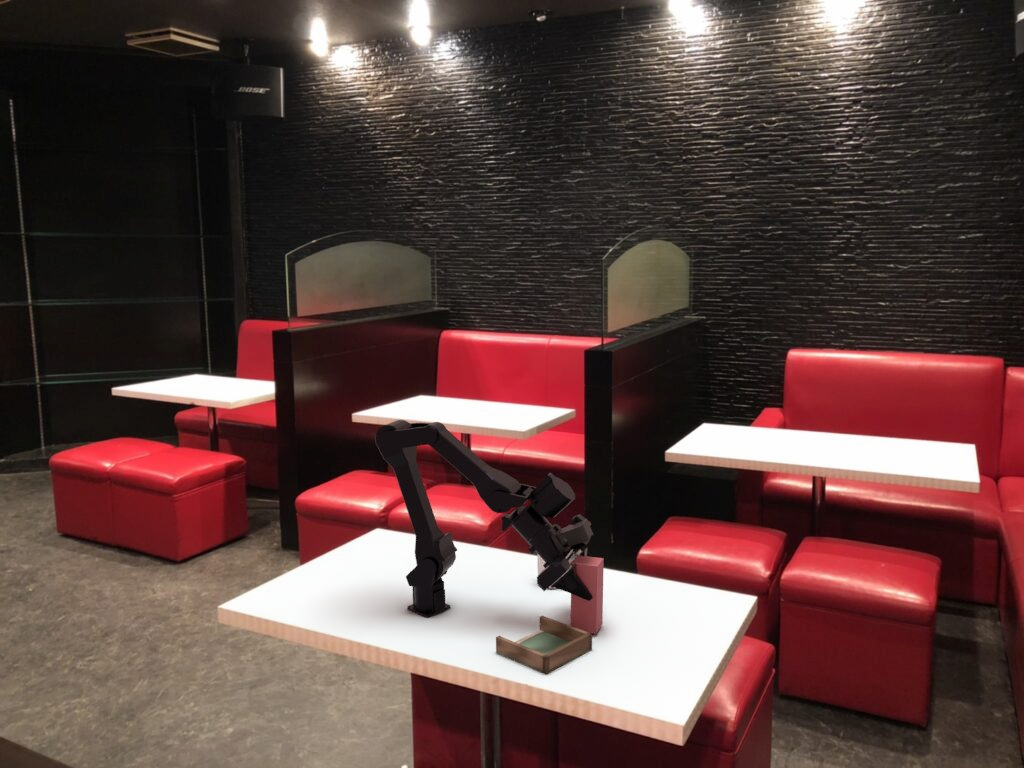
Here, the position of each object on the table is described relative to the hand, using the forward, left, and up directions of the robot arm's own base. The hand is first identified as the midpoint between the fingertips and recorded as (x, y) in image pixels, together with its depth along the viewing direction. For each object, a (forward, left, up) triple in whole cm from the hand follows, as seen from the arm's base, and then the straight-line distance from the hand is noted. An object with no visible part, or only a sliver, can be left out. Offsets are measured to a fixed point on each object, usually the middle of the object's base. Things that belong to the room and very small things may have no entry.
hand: (594, 593), depth 160 cm
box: (-1, -13, -7) cm, 15 cm away
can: (-21, +12, -7) cm, 26 cm away
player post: (-1, -1, -7) cm, 7 cm away
